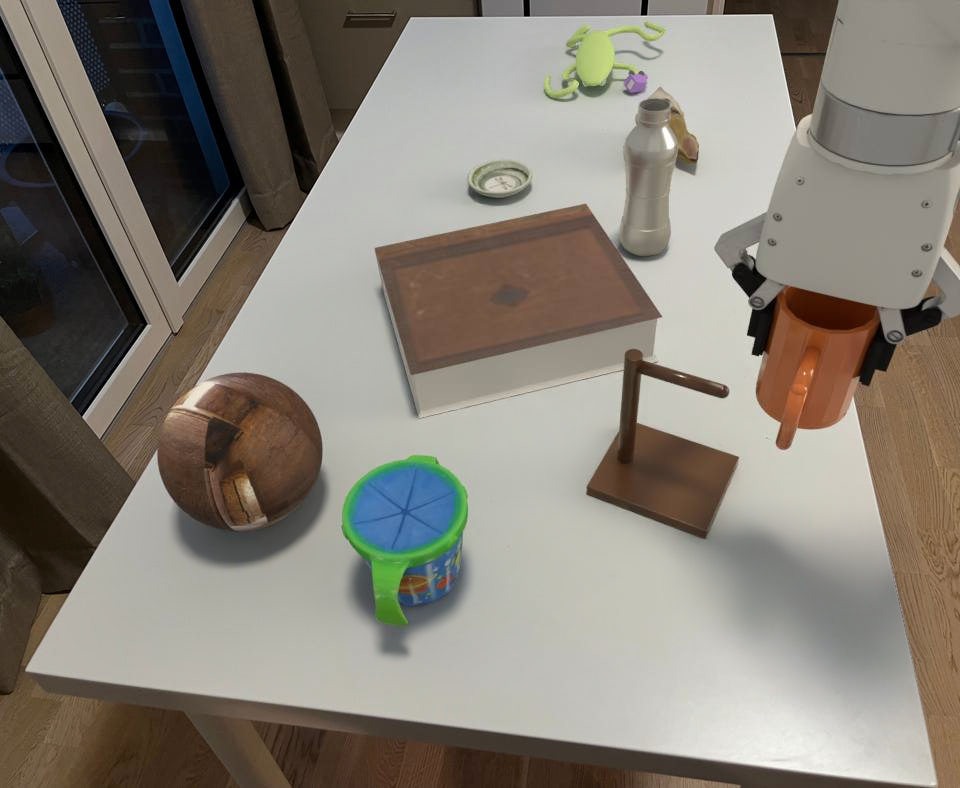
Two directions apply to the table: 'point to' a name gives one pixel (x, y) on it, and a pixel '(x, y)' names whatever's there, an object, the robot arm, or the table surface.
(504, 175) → the saucer
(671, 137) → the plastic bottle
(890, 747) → the table surface
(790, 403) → the mug
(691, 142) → the ceramic sculpture
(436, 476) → the snack cup
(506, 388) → the book
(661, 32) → the figurine
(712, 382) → the mug stand
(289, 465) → the wooden sphere
